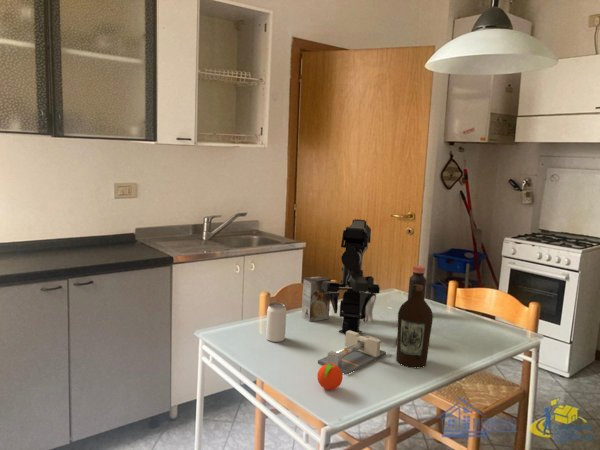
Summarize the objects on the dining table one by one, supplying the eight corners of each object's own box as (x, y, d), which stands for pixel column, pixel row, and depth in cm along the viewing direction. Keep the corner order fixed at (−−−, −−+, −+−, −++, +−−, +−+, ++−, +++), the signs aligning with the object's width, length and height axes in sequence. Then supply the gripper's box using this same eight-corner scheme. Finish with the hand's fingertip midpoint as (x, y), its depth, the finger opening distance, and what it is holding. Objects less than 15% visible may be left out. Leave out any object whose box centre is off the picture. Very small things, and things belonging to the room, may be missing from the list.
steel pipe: (366, 345, 166) (367, 334, 165) (376, 348, 163) (377, 338, 163) (326, 364, 149) (327, 352, 149) (337, 368, 146) (338, 356, 146)
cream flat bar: (348, 344, 164) (349, 330, 164) (379, 355, 157) (380, 340, 156) (344, 346, 163) (346, 331, 162) (376, 357, 155) (377, 342, 155)
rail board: (357, 345, 168) (357, 342, 168) (385, 354, 161) (386, 351, 161) (317, 363, 151) (317, 360, 151) (347, 375, 144) (347, 371, 144)
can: (282, 343, 166) (284, 309, 164) (263, 341, 167) (265, 306, 165) (286, 336, 172) (288, 303, 170) (268, 334, 173) (270, 301, 172)
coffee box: (320, 314, 199) (322, 275, 197) (329, 319, 194) (331, 279, 191) (300, 316, 194) (303, 277, 192) (309, 321, 189) (311, 281, 187)
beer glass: (377, 320, 195) (380, 283, 193) (369, 324, 190) (372, 286, 187) (361, 316, 199) (363, 280, 197) (353, 320, 193) (356, 283, 191)
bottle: (424, 316, 203) (429, 269, 201) (408, 315, 203) (412, 268, 201) (421, 311, 210) (425, 265, 207) (405, 310, 210) (409, 264, 207)
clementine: (336, 398, 130) (338, 373, 129) (311, 392, 133) (313, 367, 132) (344, 386, 138) (346, 361, 137) (321, 380, 140) (322, 356, 139)
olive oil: (397, 353, 163) (403, 279, 160) (430, 359, 160) (437, 284, 156) (391, 365, 153) (397, 286, 150) (425, 372, 150) (433, 292, 146)
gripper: (336, 267, 150) (332, 318, 150) (390, 270, 156) (386, 319, 156) (322, 263, 160) (318, 311, 161) (373, 266, 167) (369, 311, 167)
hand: (348, 313), depth 161 cm, fingers open, 9 cm apart
